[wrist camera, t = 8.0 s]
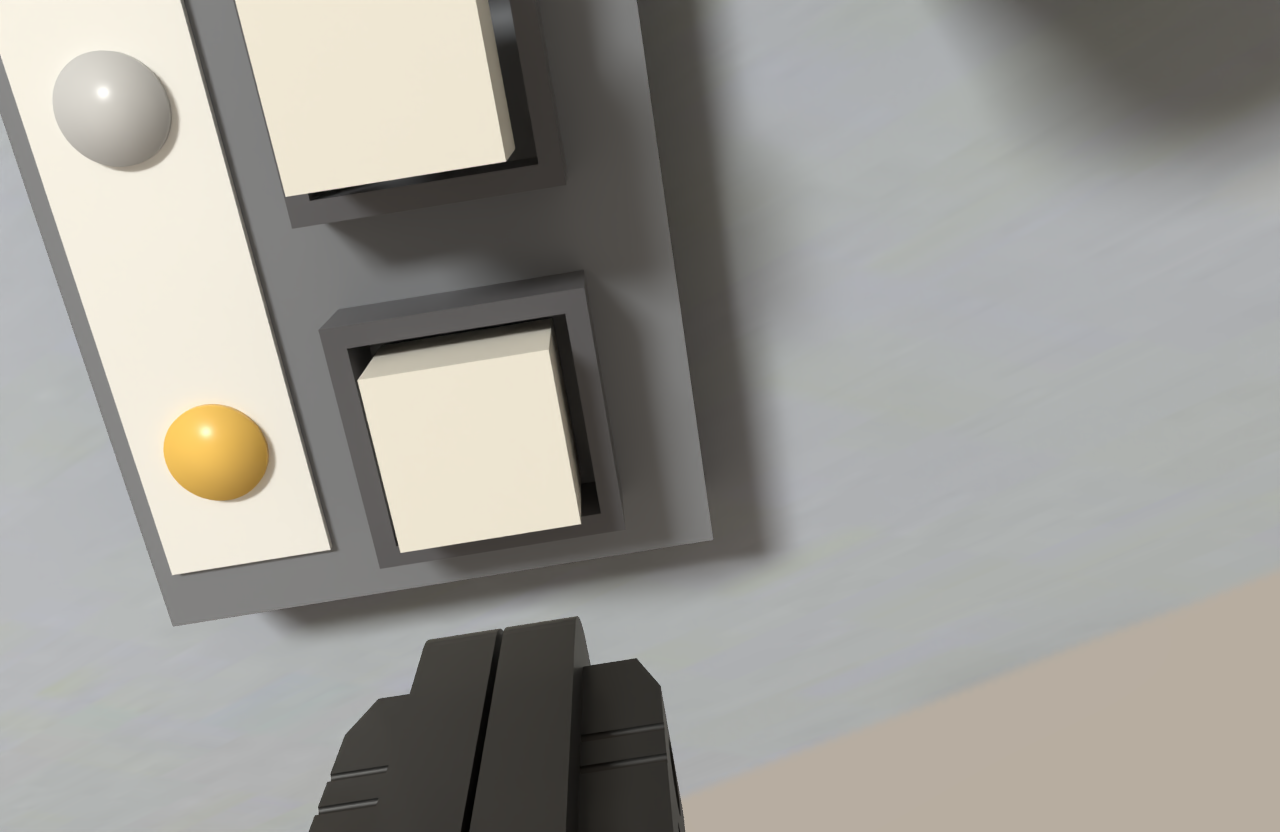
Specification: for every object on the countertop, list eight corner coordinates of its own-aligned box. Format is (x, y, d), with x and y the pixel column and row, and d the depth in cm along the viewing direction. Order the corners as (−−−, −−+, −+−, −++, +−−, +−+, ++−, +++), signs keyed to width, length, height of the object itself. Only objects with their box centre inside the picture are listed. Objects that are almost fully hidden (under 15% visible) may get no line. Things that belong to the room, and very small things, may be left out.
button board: (542, -610, 22) (531, -794, 17) (701, 494, 30) (723, 576, 25) (-129, -503, 22) (-325, -656, 17) (211, 572, 30) (142, 669, 25)
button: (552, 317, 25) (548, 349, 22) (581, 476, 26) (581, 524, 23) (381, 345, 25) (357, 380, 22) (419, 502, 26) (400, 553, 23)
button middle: (475, -64, 20) (460, -81, 18) (515, 148, 22) (506, 161, 19) (270, -30, 20) (223, -43, 18) (322, 179, 22) (285, 196, 19)
